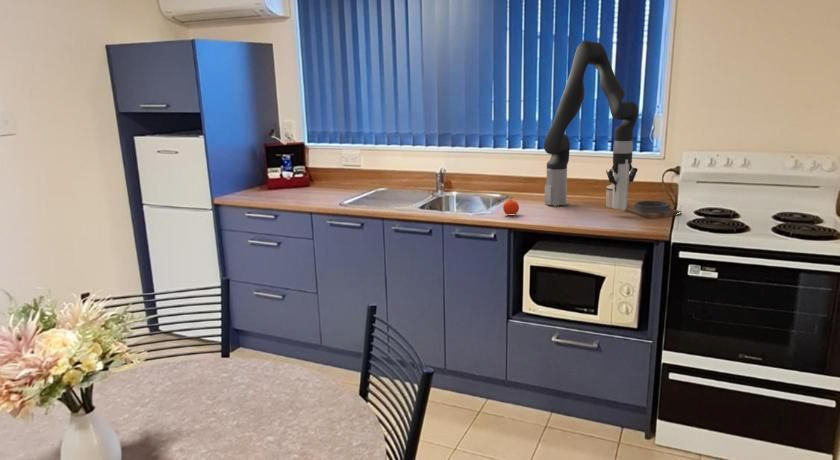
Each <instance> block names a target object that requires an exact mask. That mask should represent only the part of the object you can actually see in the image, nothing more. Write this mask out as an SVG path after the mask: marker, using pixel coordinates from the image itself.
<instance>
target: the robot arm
mask: <svg viewBox="0 0 840 460" xmlns="http://www.w3.org/2000/svg"><path fill="white" fill-rule="evenodd" d="M588 65H591V66H592V65H593V66H594V68H595V69H596V71H597V72H598V74H599V83H600V84H599V85H600V88H601V90H602V91H601V92H603V94H604V96H605V97H606V99H607V101H608V107H609V111H610V114H611V116H612V118H614V119H615V120H616V121H617V120H618V121H622V122H621V124H620V125H617V126H616V127H615V129H614V139H613V140H614V141H613V147H612V148H613V149H612V150H613V151H612V167H611V168H610V169H606V171H605V173H606V175H607V177H608V181H609V183H611V184H614V185H615V192H616V184H618V179H619V177H618V178H617V181H615V179H614V173H616V174H618V164H625V160H628V164H629V181H628V186H629V184H630V183H633V182H634V179H635V178H636V174H637V172H638V168H637V167H634V166H632V162H633V151H634V149H633V148H634V147H633V146H634V144H633V138H634V137H633V135H634V129H635V126H636V123H637V119H638V116H639V107H638V104H637V103H635V102H634V101H622V100H624V98H625V95H626V93H625V91H624V89H623V87H622V85H621V83H620V82H619V80H618V79H617V77H616V74H615V73H614V70H613V68H612V64H611V63H610V60H609V57H608V54H607V51H606V49H605V47H604V45H602V43H600V42H596V41H590V40H585V41H582V42H580V43H579V44H578V46H577V47H576V51H575V53H574V56H573V60H572V65H571V68H570V72H569V75H568V78H567V81H566V85H565V87H564V90H563V91H562V92H563V93H562V95H561V97H560V100H559V103H558V106H557V109H556V112H555V115H554V118H553V121H552V123H551V125H550V128H549V129H548V131H547V134H546V135H545V138H544V141H543V149H544V151H545V153H546V154H548V155H551V156H550V158H549V160H548V161H547V162H546V183H545V184H544V204H545V203H546V204H548V205H554V206H553V207H560V206H559V205H564V206H566V205H567V203H568V202H567V201H568V200H567V191H568V189H567V188H568V187H567V186H568V164H569V160H570V150H571V149H570V147H571V146H570V139H569V137H568V135H567V134H566V130H567V128H568V127H569V125H570V124H571V123H572V121H573V119H574V118H575V117H576V116H577V114H578V113H579V111H580V109H581V106H582V104H583V102H584V98H585V85H584V77H585V73H586V70H587V67H588ZM546 204H545V205H546ZM548 205H547V206H548ZM557 205H558V206H557Z"/></svg>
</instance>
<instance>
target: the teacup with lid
mask: <svg viewBox="0 0 840 460" xmlns="http://www.w3.org/2000/svg"><path fill="white" fill-rule="evenodd" d="M605 189H606V195H605V196H606V197H605V199H606V200H605V206H606V207H607V208H608V209H613V208H612V197H613V183H611V184H610V185H607V186H606V187H605Z"/></svg>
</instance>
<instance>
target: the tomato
mask: <svg viewBox="0 0 840 460" xmlns="http://www.w3.org/2000/svg"><path fill="white" fill-rule="evenodd" d="M502 209H503V212H504V214H506V215H507V214H515V215H516V214H517V213H518V212H519V210H520V206H519V203H518V202H517V201H515V200H514V199H508V200H506V201H505V202H504V203H503V207H502Z"/></svg>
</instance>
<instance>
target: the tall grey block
mask: <svg viewBox="0 0 840 460" xmlns="http://www.w3.org/2000/svg"><path fill="white" fill-rule="evenodd" d="M629 174H630V172H629V164H628V160H625V164H618V174H616V173H614V172H613V176H614V179H615V181H617V178H618V177H619V179H618V184H616V192H615V185H614V184H613V183H612V184H613V197H612V208H611V209H615V210H622V211H624V210H625V209H626V208H627V207H628V199H629V196H628V195H629V194H628V193H629V185H628V181H629Z"/></svg>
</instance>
